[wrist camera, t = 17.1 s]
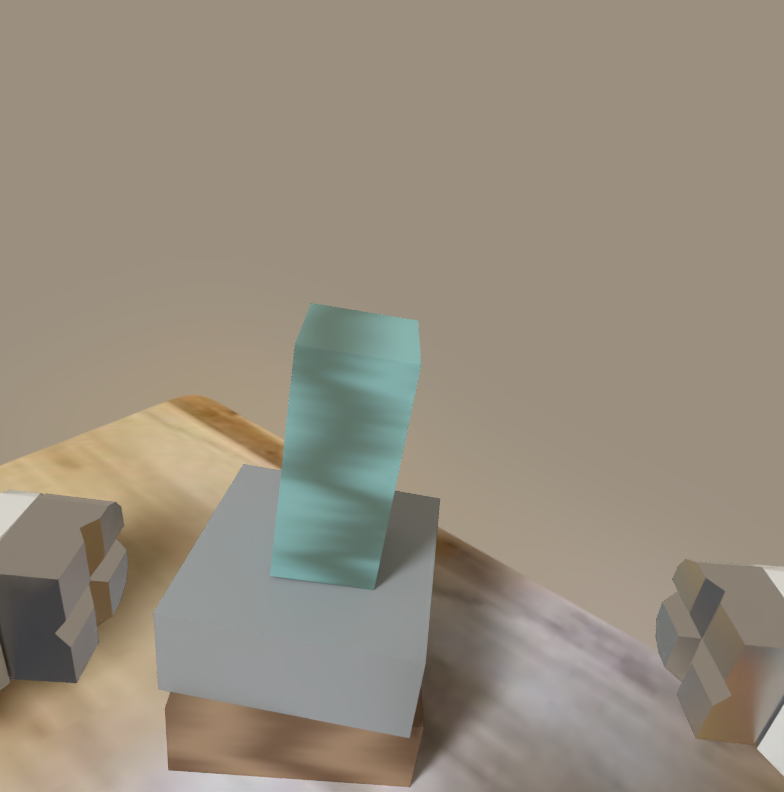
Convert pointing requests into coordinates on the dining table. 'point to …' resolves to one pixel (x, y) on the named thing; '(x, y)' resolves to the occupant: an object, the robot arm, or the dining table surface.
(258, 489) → the tower top
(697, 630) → the robot arm
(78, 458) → the dining table surface
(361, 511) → the teal block
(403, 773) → the tower base
